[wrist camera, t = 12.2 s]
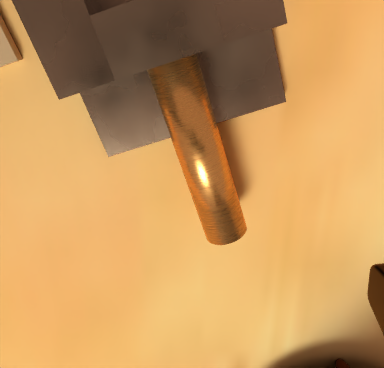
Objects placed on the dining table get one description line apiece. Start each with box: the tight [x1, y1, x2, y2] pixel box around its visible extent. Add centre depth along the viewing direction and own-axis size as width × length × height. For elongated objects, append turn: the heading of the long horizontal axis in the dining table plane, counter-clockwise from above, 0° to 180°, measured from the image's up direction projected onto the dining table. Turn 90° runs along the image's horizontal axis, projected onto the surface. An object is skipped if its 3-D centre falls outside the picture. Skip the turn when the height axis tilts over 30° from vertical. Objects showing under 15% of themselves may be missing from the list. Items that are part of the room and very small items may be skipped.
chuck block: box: [12, 0, 287, 245], centre depth 17 cm, size 20×10×4 cm, turn 17°
